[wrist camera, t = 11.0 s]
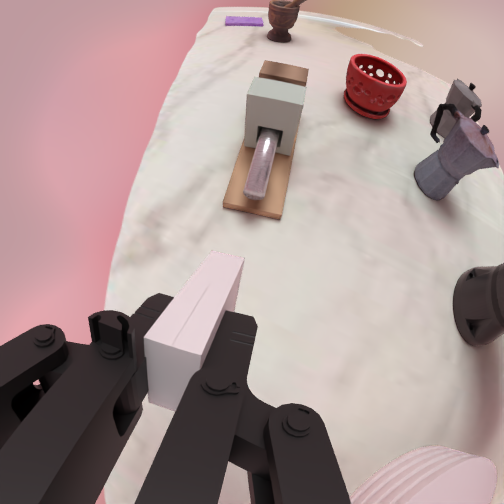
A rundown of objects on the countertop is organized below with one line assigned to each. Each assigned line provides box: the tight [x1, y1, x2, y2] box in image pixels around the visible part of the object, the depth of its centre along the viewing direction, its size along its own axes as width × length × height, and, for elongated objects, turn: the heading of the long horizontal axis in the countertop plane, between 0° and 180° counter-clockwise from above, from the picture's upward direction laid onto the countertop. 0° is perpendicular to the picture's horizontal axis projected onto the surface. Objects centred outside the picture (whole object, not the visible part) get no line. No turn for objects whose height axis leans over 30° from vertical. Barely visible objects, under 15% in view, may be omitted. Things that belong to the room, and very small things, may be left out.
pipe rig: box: [223, 60, 309, 219], centre depth 42 cm, size 9×26×12 cm, turn 167°
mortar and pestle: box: [267, 0, 306, 42], centre depth 56 cm, size 12×9×20 cm
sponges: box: [225, 16, 263, 26], centre depth 69 cm, size 7×13×2 cm, turn 91°
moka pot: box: [415, 103, 499, 200], centre depth 39 cm, size 10×15×20 cm, turn 40°
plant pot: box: [344, 54, 407, 119], centre depth 50 cm, size 13×13×12 cm
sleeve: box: [244, 77, 306, 156], centre depth 41 cm, size 8×5×12 cm, turn 77°
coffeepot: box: [430, 79, 482, 138], centre depth 48 cm, size 15×9×18 cm, turn 172°
